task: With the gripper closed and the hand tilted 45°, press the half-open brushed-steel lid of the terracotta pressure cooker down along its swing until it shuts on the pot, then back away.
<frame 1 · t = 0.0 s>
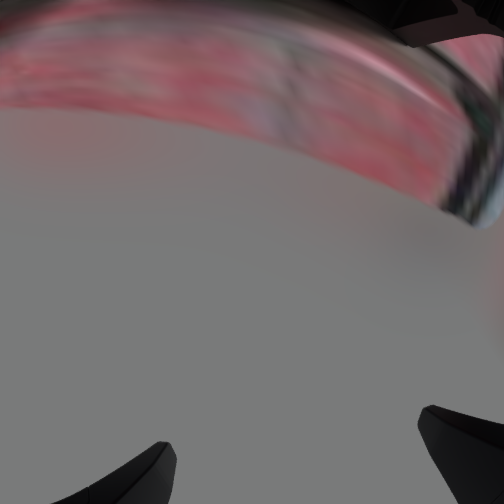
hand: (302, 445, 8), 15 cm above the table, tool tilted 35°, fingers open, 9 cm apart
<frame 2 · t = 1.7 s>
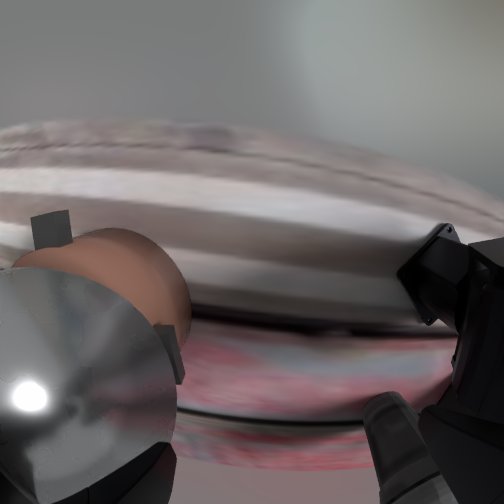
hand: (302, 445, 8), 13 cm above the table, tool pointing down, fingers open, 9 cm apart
cooker pot: (120, 303, 21), on the table
cooker lid: (63, 433, 7), point 14 cm above the table, hinge at 58.0°
beverage cup: (381, 406, 23), on the table
phone stand: (466, 388, 23), on the table
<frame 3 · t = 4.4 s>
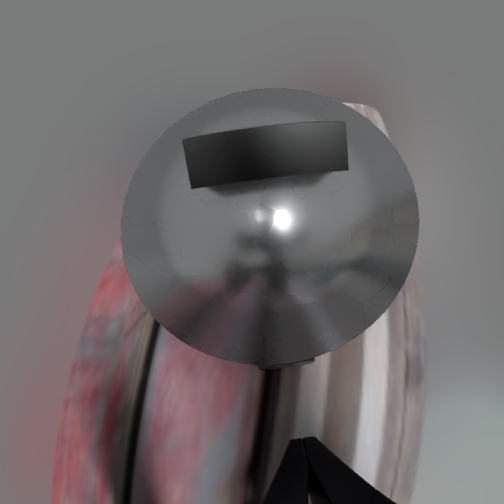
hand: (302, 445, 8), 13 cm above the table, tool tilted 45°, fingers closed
cooker lid: (278, 257, 11), point 14 cm above the table, hinge at 58.0°
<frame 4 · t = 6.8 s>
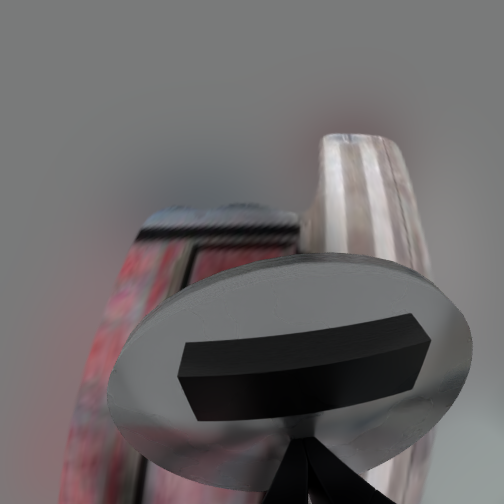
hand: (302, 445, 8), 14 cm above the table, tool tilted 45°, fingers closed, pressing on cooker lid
cooker lid: (302, 440, 8), point 14 cm above the table, hinge at 56.1°, touching gripper
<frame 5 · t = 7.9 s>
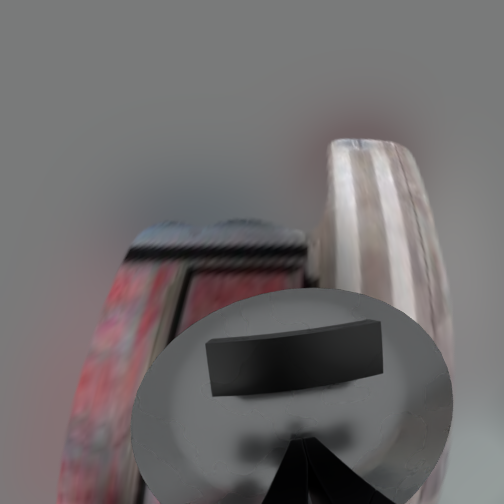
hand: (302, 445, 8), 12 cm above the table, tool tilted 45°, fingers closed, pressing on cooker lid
cooker lid: (302, 461, 8), point 11 cm above the table, hinge at 23.4°, touching gripper
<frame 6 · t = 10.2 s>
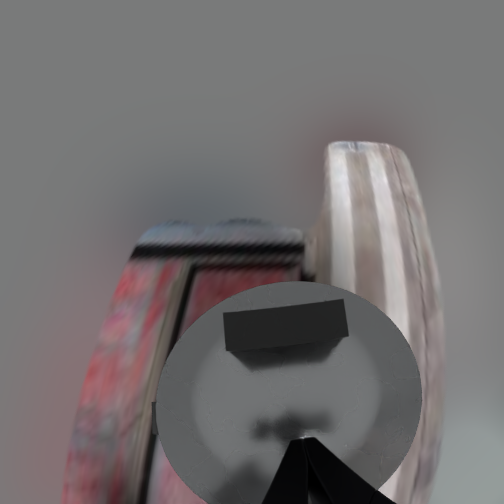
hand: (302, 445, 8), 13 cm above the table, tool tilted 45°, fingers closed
cooker lid: (294, 418, 10), point 10 cm above the table, hinge at 11.5°
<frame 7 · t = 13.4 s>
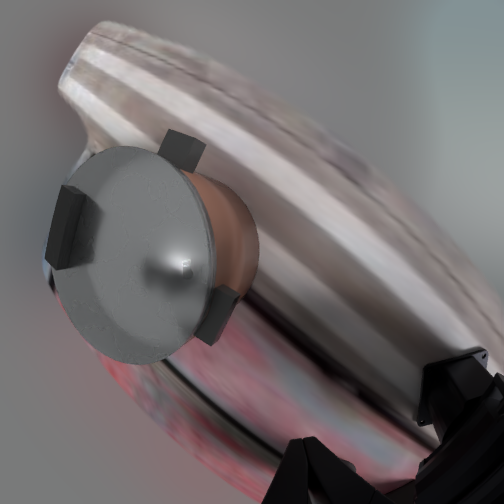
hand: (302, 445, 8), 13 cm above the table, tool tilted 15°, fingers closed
cooker pot: (187, 248, 23), on the table
cooker lid: (107, 258, 14), point 9 cm above the table, hinge at 0.3°
phone stand: (405, 501, 19), on the table
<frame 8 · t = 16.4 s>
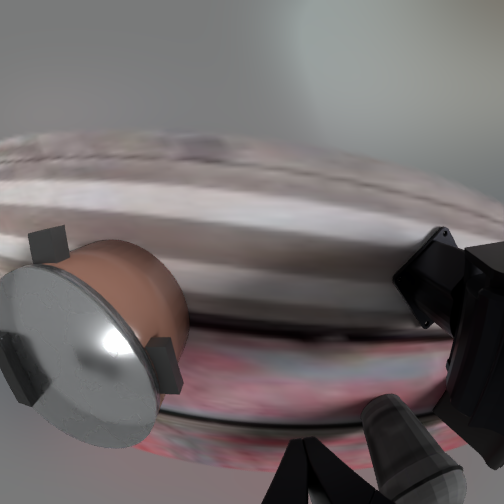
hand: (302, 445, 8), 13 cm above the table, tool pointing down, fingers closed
cooker pot: (119, 313, 21), on the table
cooker lid: (56, 374, 12), point 9 cm above the table, hinge at -0.1°
beverage cup: (380, 408, 23), on the table
phone stand: (465, 388, 23), on the table
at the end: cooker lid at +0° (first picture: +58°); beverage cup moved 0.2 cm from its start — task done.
